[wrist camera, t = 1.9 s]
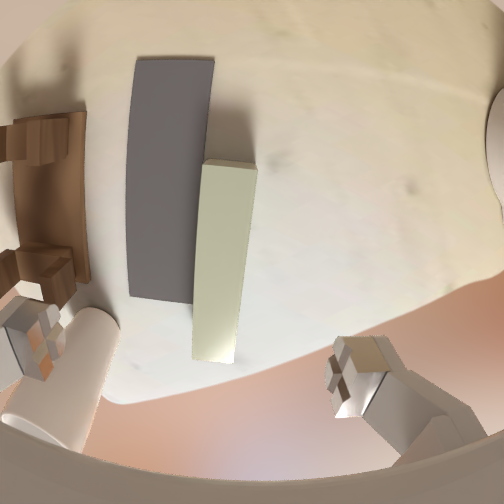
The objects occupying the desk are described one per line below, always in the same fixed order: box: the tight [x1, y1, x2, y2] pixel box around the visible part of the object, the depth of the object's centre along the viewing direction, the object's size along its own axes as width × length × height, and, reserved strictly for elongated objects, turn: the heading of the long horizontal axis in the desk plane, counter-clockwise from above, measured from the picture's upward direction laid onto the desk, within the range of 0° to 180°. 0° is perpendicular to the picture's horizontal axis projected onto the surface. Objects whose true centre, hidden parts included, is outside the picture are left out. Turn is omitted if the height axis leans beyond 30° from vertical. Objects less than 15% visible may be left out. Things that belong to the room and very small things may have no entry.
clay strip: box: [192, 158, 258, 364], centre depth 24 cm, size 16×4×4 cm, turn 173°
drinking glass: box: [1, 307, 121, 453], centre depth 21 cm, size 7×7×15 cm
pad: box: [126, 60, 215, 304], centre depth 23 cm, size 6×20×1 cm, turn 173°
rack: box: [0, 112, 91, 311], centre depth 20 cm, size 8×15×6 cm, turn 173°
